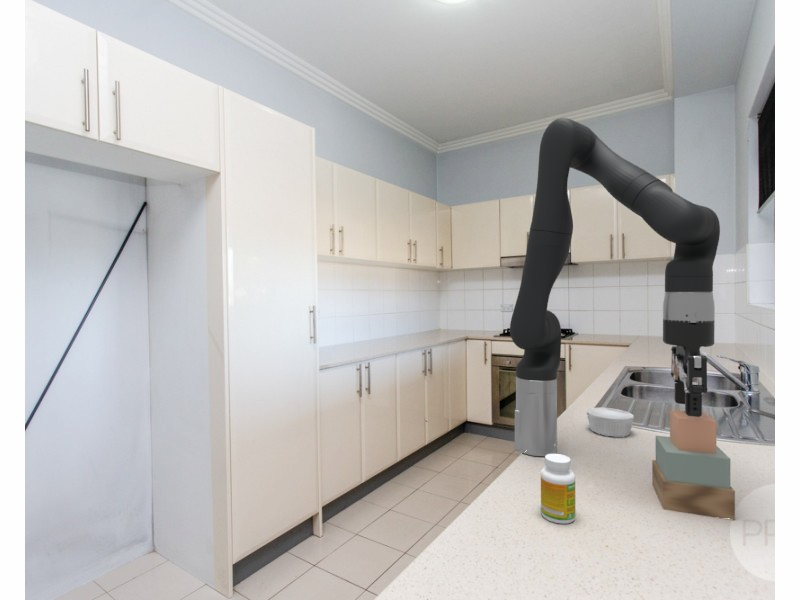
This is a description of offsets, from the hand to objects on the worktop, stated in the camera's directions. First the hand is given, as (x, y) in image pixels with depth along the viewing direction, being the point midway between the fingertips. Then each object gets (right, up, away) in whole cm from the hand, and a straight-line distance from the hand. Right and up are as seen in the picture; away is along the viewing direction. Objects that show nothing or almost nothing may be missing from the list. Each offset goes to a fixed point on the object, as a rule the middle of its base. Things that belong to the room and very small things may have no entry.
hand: (687, 409), depth 75 cm
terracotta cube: (+1, -7, 0) cm, 7 cm away
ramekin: (+5, -16, +38) cm, 42 cm away
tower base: (+1, -17, 0) cm, 17 cm away
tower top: (0, -12, 0) cm, 12 cm away
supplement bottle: (-25, -17, -5) cm, 30 cm away
